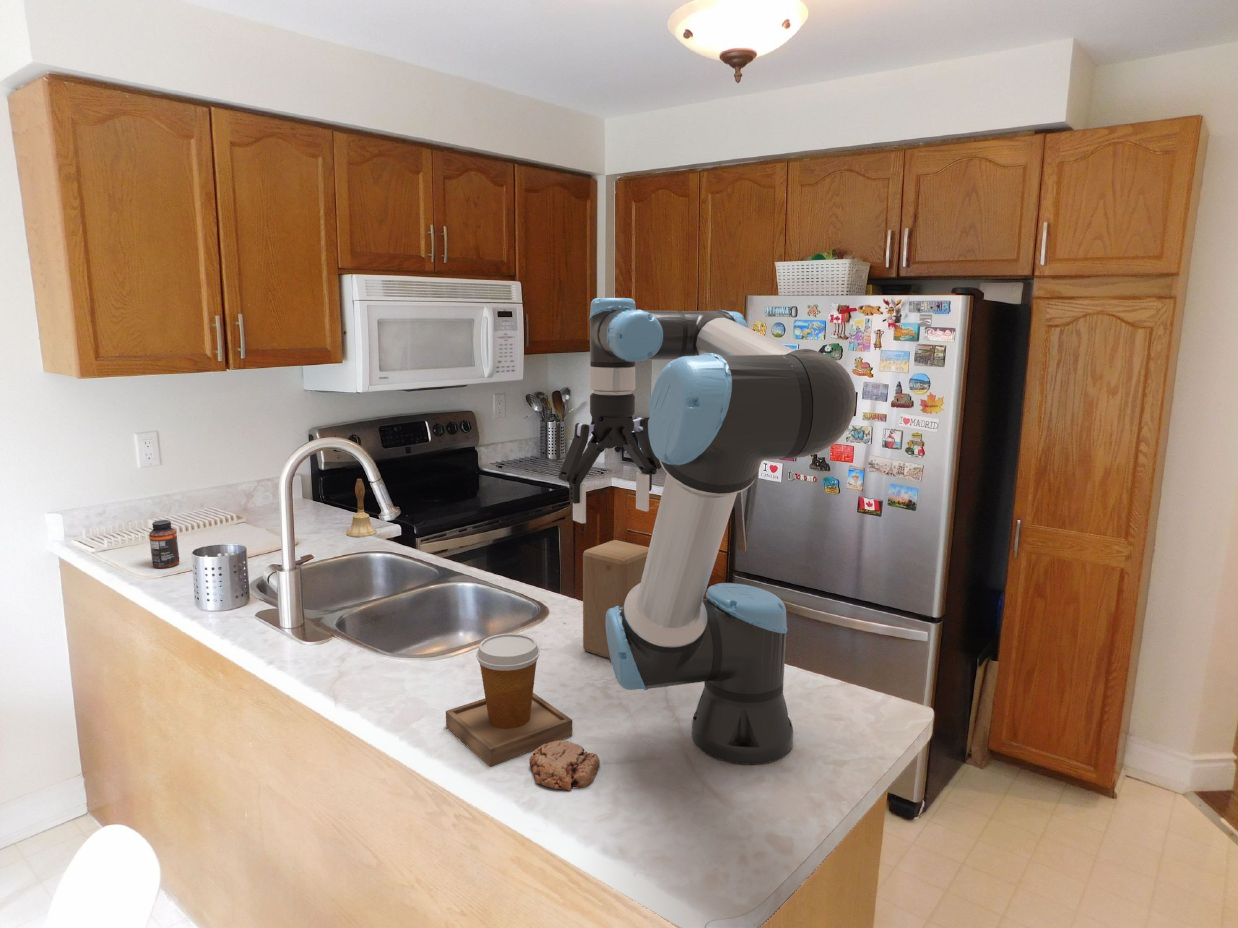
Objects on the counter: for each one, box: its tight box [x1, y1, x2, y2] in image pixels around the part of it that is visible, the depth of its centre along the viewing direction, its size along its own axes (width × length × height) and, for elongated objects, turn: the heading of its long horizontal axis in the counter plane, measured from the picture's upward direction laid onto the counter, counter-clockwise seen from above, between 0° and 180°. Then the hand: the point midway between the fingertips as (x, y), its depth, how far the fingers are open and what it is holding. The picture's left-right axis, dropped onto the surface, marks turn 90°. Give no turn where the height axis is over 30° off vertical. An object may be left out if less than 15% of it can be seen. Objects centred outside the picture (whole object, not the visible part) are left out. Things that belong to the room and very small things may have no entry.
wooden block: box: [582, 539, 649, 660], centre depth 153 cm, size 10×10×20 cm
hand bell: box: [345, 478, 378, 538], centre depth 231 cm, size 8×8×16 cm
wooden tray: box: [445, 692, 573, 767], centre depth 124 cm, size 14×14×3 cm
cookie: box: [529, 740, 601, 792], centre depth 114 cm, size 10×11×3 cm
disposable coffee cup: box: [475, 633, 541, 728], centre depth 123 cm, size 10×10×12 cm
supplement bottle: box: [148, 519, 180, 569], centre depth 201 cm, size 6×6×11 cm
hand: (611, 515), depth 139 cm, fingers open, 13 cm apart
